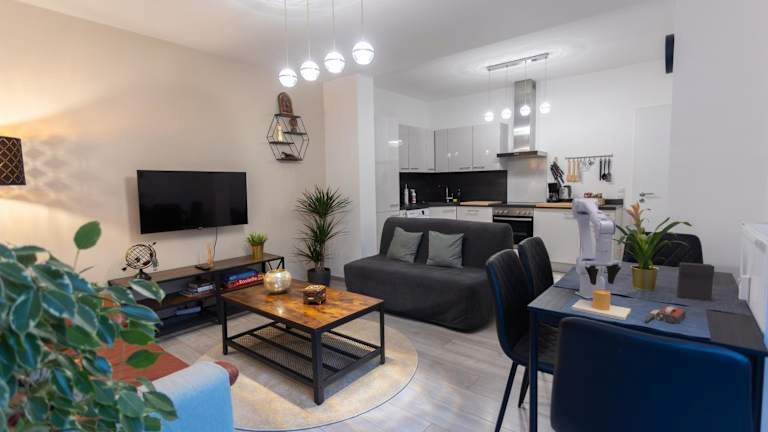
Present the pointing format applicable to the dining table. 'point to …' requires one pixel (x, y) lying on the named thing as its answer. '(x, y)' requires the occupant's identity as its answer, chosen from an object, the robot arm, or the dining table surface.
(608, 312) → the plate
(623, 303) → the dining table surface
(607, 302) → the cap
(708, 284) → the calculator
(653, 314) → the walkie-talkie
